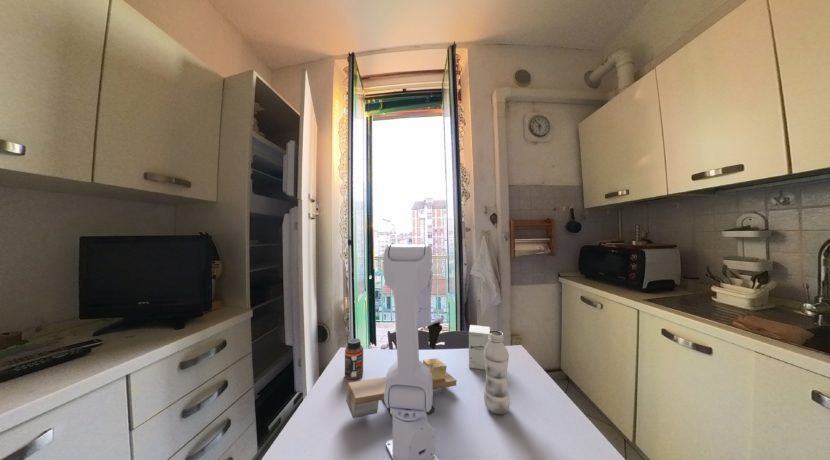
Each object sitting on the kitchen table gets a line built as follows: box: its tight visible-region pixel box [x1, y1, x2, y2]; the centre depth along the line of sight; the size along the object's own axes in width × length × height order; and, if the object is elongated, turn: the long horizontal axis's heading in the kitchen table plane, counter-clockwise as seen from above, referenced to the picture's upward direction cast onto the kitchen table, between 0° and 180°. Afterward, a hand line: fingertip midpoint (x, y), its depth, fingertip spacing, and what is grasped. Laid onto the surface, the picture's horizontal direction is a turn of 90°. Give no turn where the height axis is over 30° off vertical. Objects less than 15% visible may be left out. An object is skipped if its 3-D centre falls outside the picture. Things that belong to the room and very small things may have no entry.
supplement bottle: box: [344, 338, 364, 381], centre depth 81 cm, size 6×6×11 cm
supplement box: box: [468, 324, 491, 371], centre depth 87 cm, size 7×7×13 cm
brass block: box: [422, 358, 447, 382], centre depth 72 cm, size 5×5×4 cm
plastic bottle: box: [483, 329, 511, 415], centre depth 65 cm, size 6×7×20 cm
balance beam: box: [345, 371, 457, 419], centre depth 67 cm, size 7×30×4 cm, turn 119°
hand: (422, 350), depth 76 cm, fingers open, 7 cm apart
